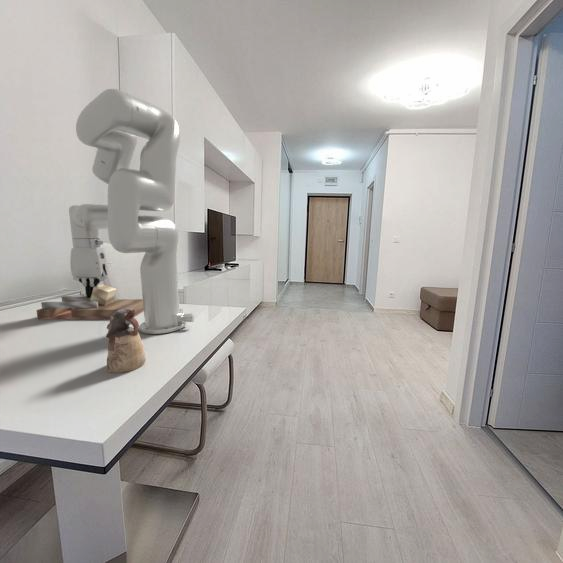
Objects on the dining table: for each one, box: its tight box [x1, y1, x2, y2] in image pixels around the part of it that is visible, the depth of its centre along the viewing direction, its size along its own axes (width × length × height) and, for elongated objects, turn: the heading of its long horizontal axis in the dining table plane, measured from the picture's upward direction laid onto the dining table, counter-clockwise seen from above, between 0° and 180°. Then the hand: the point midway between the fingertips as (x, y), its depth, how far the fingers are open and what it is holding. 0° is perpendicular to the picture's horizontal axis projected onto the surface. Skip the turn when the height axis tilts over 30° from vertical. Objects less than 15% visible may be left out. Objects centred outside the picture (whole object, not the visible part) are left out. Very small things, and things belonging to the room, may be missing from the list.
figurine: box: [105, 309, 147, 374], centre depth 59 cm, size 7×7×12 cm
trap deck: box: [36, 295, 144, 320], centre depth 98 cm, size 30×14×5 cm, turn 91°
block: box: [90, 283, 117, 306], centre depth 98 cm, size 5×5×5 cm
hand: (92, 297), depth 98 cm, fingers closed
